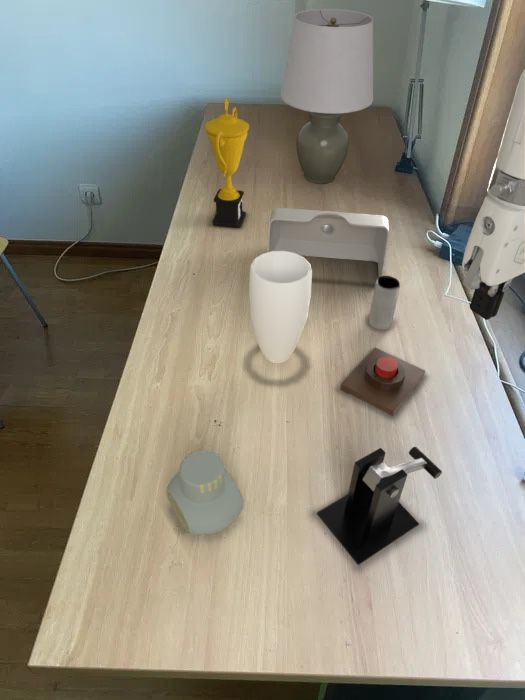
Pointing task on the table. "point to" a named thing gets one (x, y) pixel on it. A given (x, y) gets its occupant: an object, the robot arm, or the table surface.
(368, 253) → the tank
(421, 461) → the lever
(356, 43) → the lamp
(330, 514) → the black stand
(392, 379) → the button block
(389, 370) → the button
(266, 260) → the cup
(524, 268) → the robot arm
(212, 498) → the air freshener
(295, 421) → the table surface
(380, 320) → the grey cylinder
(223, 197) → the trophy
